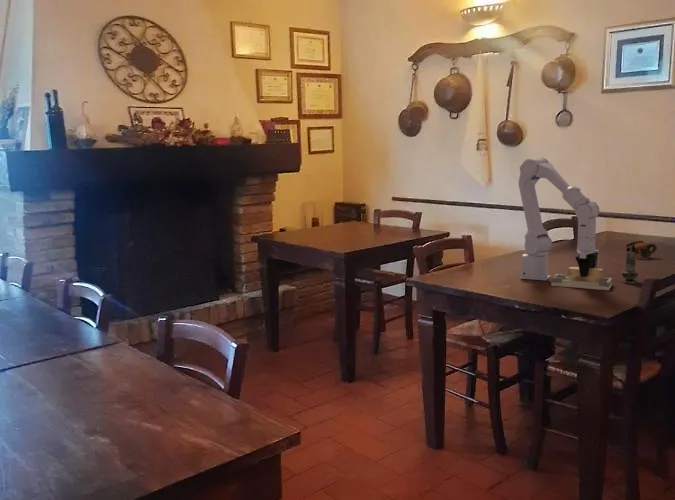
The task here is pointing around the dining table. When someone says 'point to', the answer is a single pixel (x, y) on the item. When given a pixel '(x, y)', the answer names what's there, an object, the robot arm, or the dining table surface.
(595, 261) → the supplement container
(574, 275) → the tan wooden block
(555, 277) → the cream rectangular tray
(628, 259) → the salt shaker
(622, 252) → the dining table surface
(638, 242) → the pottery mug
